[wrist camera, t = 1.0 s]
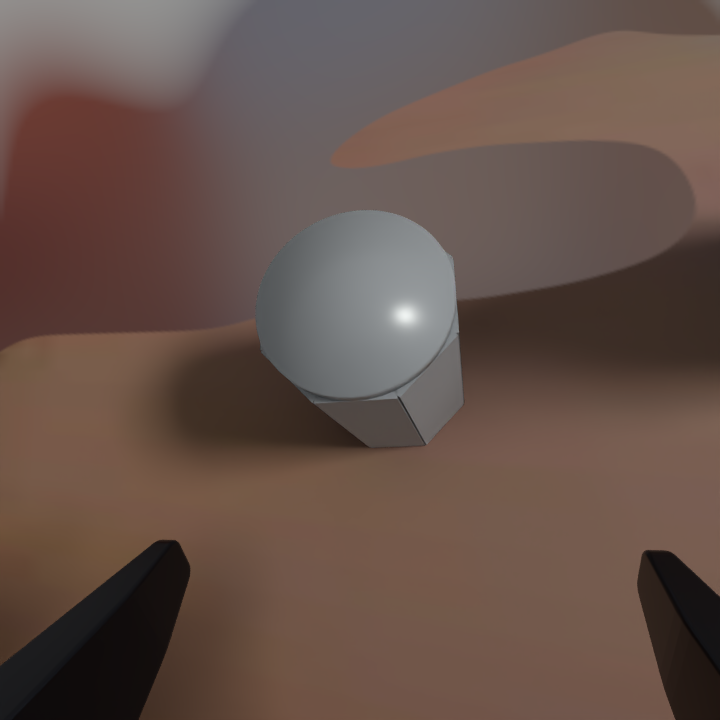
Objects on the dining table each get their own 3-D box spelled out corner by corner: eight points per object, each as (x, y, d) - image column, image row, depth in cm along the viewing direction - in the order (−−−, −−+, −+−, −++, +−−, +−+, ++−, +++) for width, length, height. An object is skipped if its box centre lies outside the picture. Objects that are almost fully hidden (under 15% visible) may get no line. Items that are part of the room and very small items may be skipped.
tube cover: (398, 475, 24) (350, 442, 15) (307, 386, 26) (218, 311, 17) (491, 374, 24) (501, 281, 15) (392, 297, 27) (351, 178, 18)
